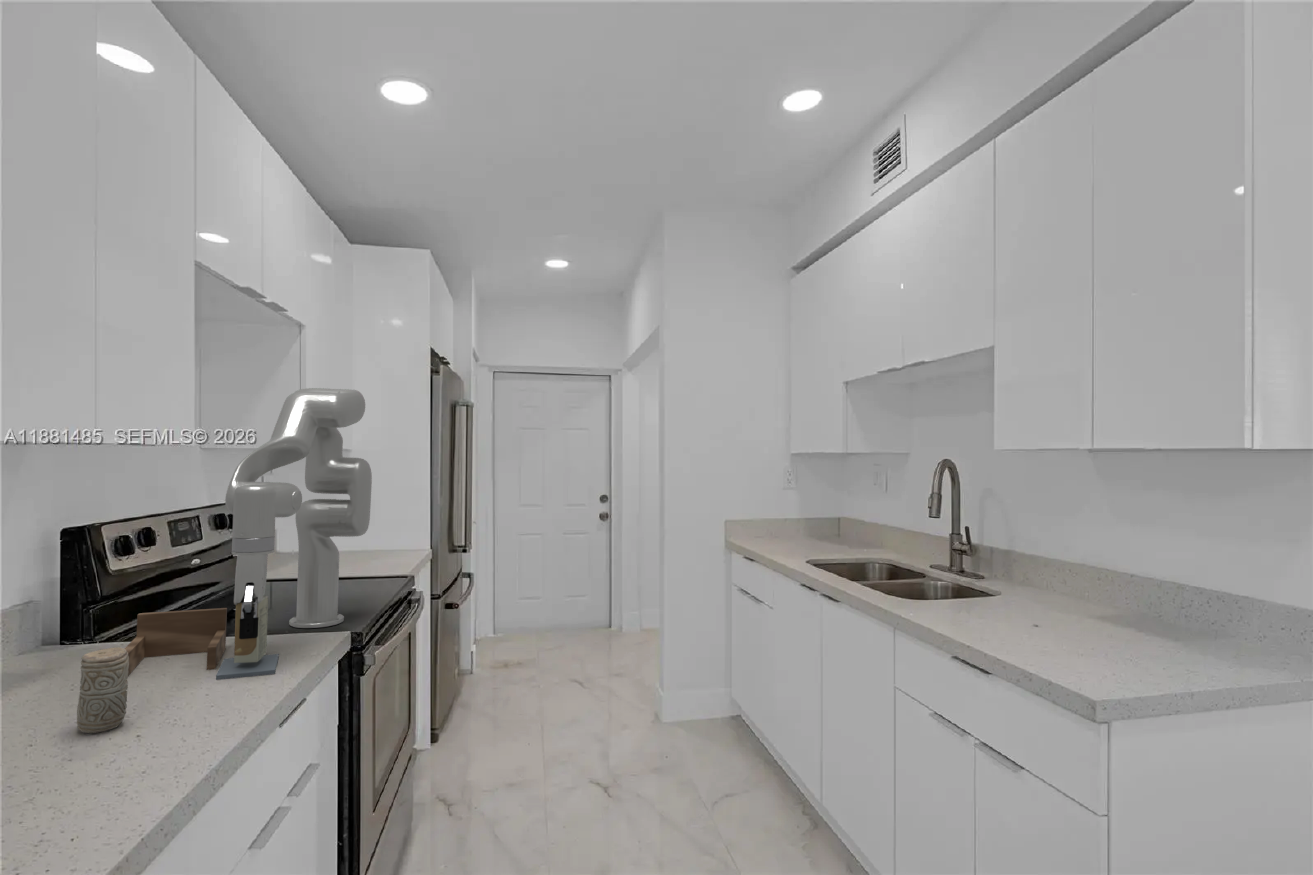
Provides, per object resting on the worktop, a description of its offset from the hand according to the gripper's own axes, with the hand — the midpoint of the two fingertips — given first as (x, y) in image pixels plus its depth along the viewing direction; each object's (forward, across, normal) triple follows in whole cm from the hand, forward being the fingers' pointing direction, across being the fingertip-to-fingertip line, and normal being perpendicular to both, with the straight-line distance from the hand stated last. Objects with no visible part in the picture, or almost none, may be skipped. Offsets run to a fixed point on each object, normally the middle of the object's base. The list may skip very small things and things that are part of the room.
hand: (250, 632), depth 143 cm
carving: (+7, +26, -18) cm, 33 cm away
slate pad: (+7, 0, 0) cm, 7 cm away
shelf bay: (+7, -9, -14) cm, 18 cm away
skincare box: (+5, 0, 0) cm, 5 cm away
